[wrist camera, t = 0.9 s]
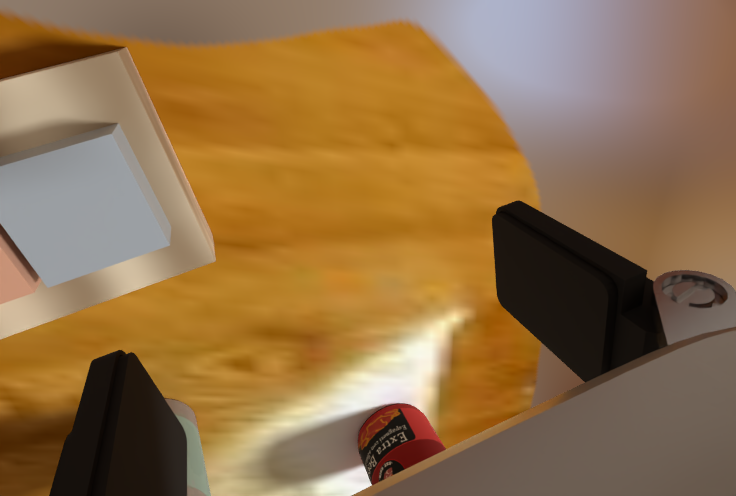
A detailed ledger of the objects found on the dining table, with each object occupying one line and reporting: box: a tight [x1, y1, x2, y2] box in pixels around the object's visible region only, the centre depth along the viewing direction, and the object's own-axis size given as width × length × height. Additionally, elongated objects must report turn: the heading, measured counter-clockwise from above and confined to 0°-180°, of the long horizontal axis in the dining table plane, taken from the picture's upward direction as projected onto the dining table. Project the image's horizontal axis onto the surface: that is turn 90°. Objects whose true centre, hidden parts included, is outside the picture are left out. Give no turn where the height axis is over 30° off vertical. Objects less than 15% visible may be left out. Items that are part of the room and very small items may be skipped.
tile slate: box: [0, 123, 171, 288], centre depth 22 cm, size 6×6×2 cm
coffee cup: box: [165, 399, 211, 496], centre depth 31 cm, size 8×8×12 cm
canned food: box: [358, 404, 446, 485], centre depth 41 cm, size 8×8×11 cm
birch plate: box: [0, 47, 216, 339], centre depth 24 cm, size 16×12×4 cm
